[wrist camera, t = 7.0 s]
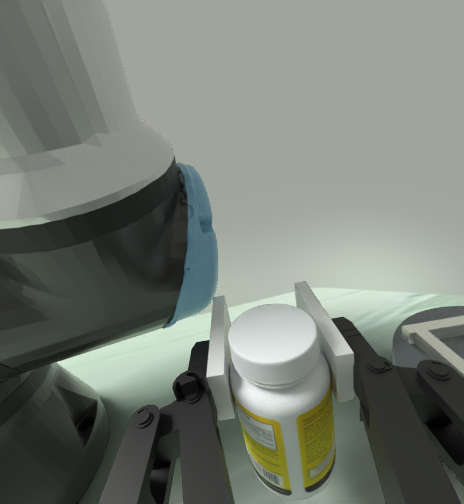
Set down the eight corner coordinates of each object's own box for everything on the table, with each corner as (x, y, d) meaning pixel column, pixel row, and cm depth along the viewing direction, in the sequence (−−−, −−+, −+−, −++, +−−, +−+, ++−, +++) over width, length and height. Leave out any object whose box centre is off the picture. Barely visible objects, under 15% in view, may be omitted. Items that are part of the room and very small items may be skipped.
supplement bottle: (321, 405, 16) (312, 293, 13) (350, 502, 11) (347, 364, 8) (247, 411, 16) (224, 304, 13) (248, 505, 12) (213, 376, 9)
